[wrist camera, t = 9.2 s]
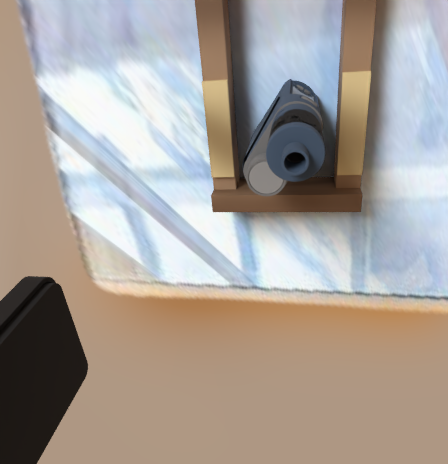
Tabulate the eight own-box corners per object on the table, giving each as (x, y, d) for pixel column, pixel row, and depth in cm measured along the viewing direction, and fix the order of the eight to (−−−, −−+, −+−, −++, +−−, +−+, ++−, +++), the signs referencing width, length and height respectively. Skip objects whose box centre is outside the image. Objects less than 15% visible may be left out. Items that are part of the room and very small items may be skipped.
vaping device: (326, 91, 25) (344, 153, 15) (279, 159, 28) (267, 252, 17) (291, 68, 25) (284, 116, 15) (247, 139, 27) (215, 222, 17)
